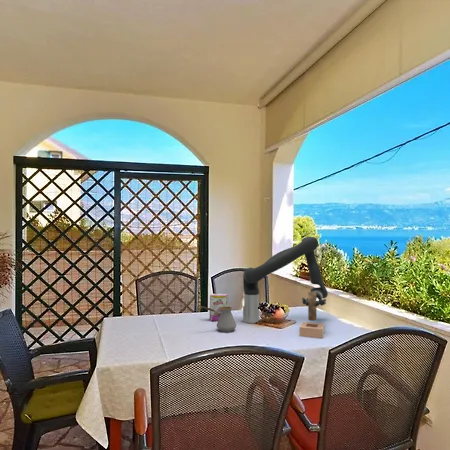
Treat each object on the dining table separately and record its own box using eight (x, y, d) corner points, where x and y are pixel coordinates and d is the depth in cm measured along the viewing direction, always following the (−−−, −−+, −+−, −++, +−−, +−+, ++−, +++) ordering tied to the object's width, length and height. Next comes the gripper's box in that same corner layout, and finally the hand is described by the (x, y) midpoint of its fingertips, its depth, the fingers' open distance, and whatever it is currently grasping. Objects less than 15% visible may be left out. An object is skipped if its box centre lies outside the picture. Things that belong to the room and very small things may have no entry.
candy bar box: (209, 321, 234) (209, 295, 234) (210, 319, 239) (210, 293, 239) (227, 321, 233) (227, 295, 233) (227, 319, 238) (227, 293, 238)
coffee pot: (232, 326, 223) (232, 301, 222) (239, 331, 212) (239, 305, 212) (197, 329, 216) (197, 303, 216) (202, 335, 205) (202, 308, 205)
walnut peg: (307, 320, 206) (307, 293, 206) (308, 318, 210) (308, 291, 210) (316, 320, 205) (315, 293, 204) (316, 318, 209) (316, 292, 209)
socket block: (299, 335, 204) (299, 327, 204) (302, 330, 215) (302, 321, 215) (322, 338, 200) (322, 329, 200) (324, 332, 211) (324, 323, 211)
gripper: (303, 291, 223) (298, 296, 207) (328, 292, 218) (325, 298, 202) (303, 303, 223) (298, 310, 207) (328, 305, 218) (325, 312, 202)
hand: (311, 304), depth 205 cm, fingers closed on walnut peg, 4 cm apart
